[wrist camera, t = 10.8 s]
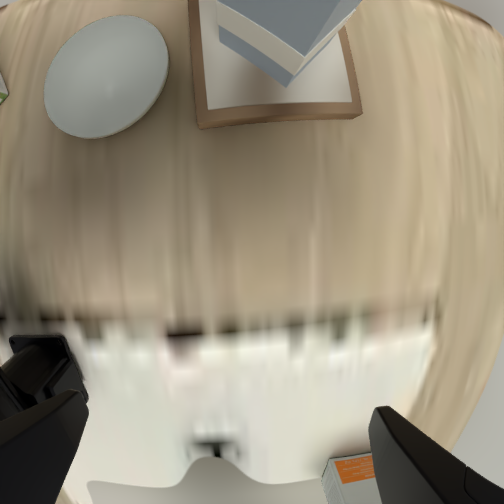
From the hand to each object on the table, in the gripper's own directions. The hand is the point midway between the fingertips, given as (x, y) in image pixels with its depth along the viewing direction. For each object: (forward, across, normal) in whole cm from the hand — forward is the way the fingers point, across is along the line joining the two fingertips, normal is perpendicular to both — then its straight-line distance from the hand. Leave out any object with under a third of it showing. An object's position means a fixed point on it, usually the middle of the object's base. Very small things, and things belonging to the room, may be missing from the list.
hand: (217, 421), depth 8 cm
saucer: (+12, +9, -14) cm, 21 cm away
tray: (+14, -2, -15) cm, 20 cm away
